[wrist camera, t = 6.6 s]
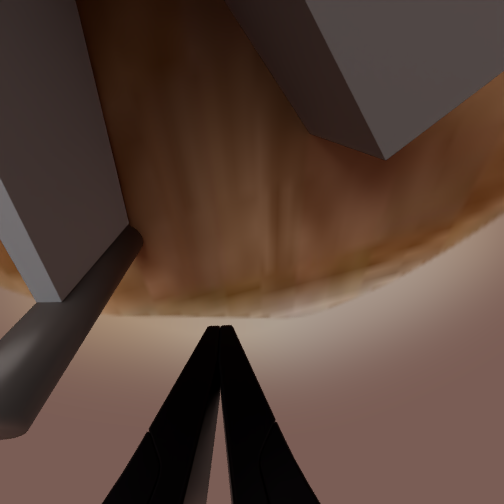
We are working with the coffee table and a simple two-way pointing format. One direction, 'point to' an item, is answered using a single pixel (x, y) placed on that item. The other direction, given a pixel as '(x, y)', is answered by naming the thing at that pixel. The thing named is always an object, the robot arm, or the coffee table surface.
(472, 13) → the block
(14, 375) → the side door
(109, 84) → the coffee table surface
